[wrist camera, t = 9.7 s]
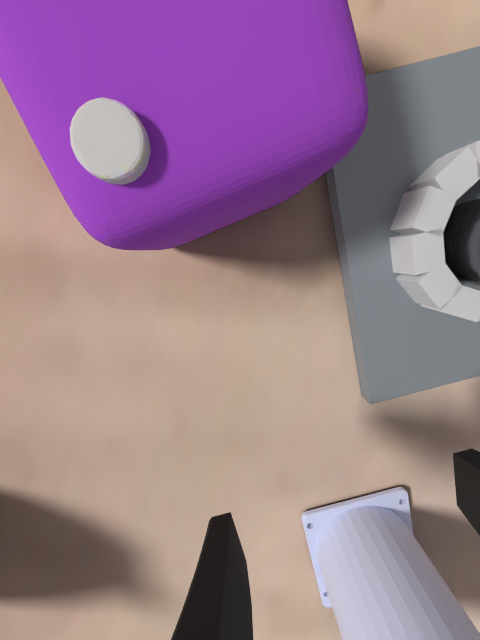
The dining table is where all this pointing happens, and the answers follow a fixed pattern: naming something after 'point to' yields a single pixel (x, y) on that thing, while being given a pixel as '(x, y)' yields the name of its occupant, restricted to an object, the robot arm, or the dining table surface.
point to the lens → (463, 241)
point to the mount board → (368, 209)
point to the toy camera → (182, 106)
